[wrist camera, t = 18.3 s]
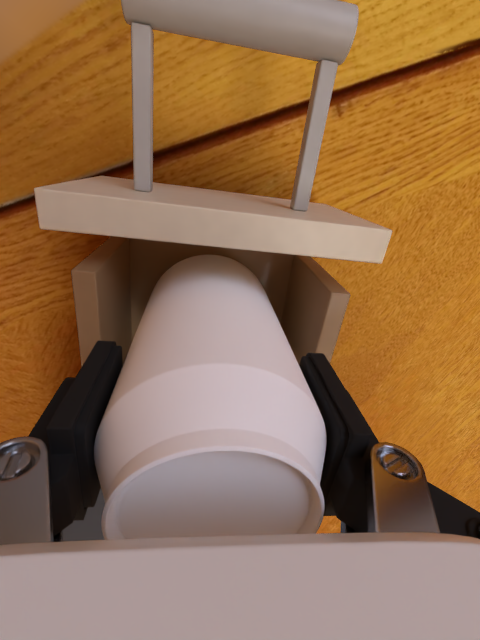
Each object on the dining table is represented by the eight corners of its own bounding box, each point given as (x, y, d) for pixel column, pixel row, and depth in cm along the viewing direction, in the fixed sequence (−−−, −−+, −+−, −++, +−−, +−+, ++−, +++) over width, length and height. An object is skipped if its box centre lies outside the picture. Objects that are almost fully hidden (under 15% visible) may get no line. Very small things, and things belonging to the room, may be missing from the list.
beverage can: (135, 329, 18) (34, 580, 7) (178, 228, 16) (123, 377, 5) (233, 365, 20) (268, 610, 9) (285, 279, 17) (411, 469, 7)
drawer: (89, 2, 13) (-16, -141, 7) (360, 56, 14) (475, -18, 8) (113, 396, 21) (77, 491, 15) (280, 402, 23) (307, 489, 17)
